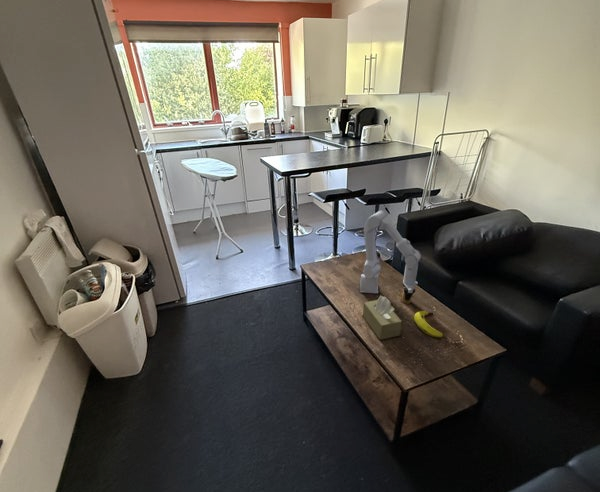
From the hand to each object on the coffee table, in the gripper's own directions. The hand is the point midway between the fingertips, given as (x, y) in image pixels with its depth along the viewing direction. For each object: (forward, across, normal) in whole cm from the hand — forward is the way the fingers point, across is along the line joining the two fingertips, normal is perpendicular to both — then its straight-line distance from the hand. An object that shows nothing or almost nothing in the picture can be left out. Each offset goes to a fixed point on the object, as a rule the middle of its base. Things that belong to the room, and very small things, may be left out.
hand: (406, 297), depth 163 cm
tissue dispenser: (+3, -22, +14) cm, 26 cm away
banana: (+3, -19, -9) cm, 21 cm away
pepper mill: (+2, 0, 0) cm, 2 cm away
